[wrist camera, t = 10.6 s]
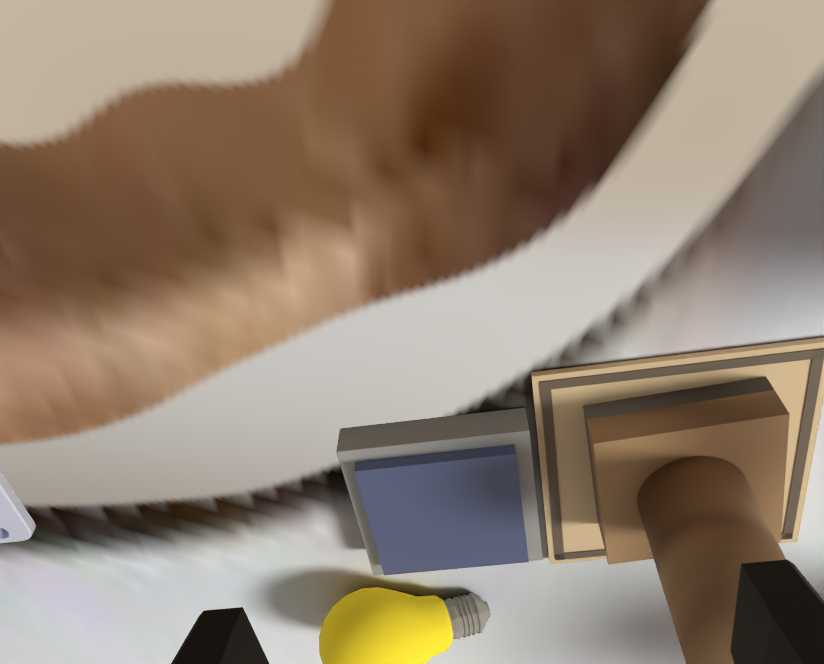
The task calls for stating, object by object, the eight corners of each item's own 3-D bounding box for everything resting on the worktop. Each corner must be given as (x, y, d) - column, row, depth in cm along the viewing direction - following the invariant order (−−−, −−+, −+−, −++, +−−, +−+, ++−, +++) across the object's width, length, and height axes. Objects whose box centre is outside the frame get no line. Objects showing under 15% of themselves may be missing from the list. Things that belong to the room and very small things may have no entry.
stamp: (598, 523, 24) (647, 722, 18) (582, 405, 21) (635, 598, 16) (760, 501, 23) (860, 700, 18) (765, 375, 20) (886, 567, 15)
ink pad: (375, 550, 25) (372, 585, 24) (340, 428, 22) (334, 461, 21) (538, 535, 24) (544, 569, 23) (525, 407, 21) (530, 440, 20)
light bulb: (306, 580, 26) (318, 646, 23) (467, 541, 27) (501, 598, 24) (320, 660, 27) (334, 734, 24) (476, 618, 28) (509, 683, 25)
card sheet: (549, 558, 25) (549, 564, 25) (530, 372, 21) (531, 377, 20) (794, 536, 24) (797, 542, 24) (830, 336, 20) (834, 341, 19)
